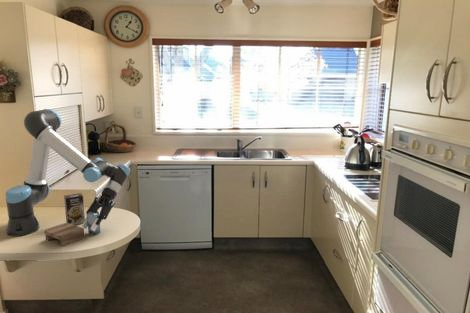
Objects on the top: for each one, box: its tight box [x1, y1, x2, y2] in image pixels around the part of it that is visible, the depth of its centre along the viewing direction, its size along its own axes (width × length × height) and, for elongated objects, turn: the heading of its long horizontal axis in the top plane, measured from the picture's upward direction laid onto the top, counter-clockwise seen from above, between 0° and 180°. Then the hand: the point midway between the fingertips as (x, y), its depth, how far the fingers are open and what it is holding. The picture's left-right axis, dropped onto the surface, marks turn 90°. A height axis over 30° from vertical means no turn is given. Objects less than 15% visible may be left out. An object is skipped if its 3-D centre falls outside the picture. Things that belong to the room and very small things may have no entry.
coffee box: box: [63, 192, 86, 226], centre depth 199 cm, size 9×6×16 cm
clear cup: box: [85, 210, 101, 236], centre depth 186 cm, size 6×6×11 cm
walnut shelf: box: [44, 222, 85, 247], centre depth 180 cm, size 14×12×5 cm
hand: (87, 228), depth 183 cm, fingers closed on clear cup, 6 cm apart
